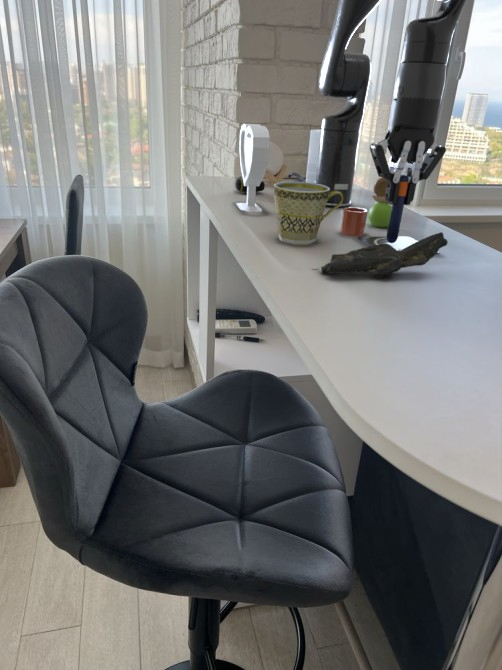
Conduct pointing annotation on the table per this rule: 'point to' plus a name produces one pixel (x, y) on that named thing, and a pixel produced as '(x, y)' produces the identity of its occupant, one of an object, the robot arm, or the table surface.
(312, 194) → the ceramic cup
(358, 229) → the pen pot
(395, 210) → the marker
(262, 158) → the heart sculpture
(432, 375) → the table surface
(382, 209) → the snail figurine
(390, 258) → the dark brown elongated chunk
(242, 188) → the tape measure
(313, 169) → the cosmetic box
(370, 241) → the shiny silver plate
